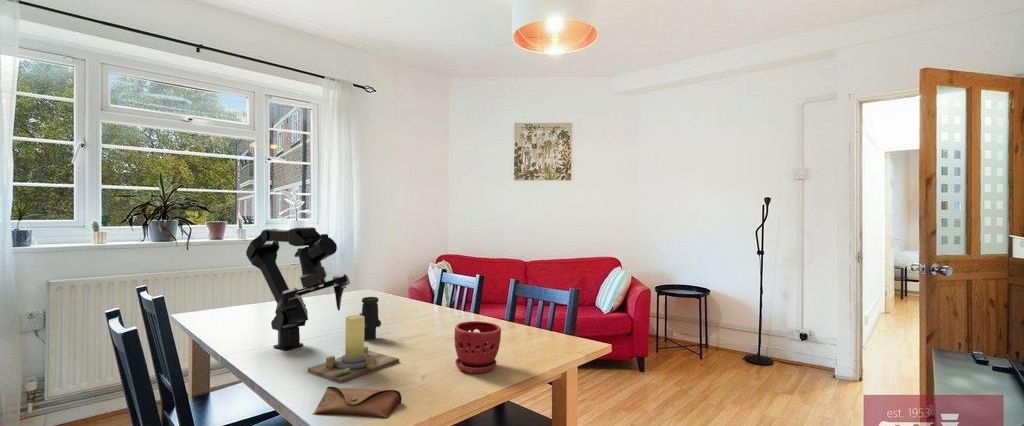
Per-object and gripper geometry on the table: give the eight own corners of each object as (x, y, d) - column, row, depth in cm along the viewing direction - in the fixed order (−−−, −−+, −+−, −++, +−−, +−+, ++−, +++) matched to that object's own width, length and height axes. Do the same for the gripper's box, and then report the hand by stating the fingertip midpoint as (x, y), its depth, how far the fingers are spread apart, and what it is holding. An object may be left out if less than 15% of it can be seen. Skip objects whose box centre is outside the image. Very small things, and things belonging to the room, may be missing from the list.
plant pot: (464, 379, 122) (464, 334, 122) (447, 364, 134) (448, 322, 134) (508, 371, 128) (508, 328, 128) (488, 358, 140) (489, 318, 140)
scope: (359, 295, 164) (386, 296, 163) (359, 334, 164) (385, 335, 163) (347, 299, 156) (375, 301, 155) (347, 340, 156) (375, 342, 155)
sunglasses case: (308, 414, 100) (316, 382, 103) (321, 418, 106) (328, 388, 109) (390, 418, 99) (395, 385, 102) (398, 422, 105) (403, 391, 108)
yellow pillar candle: (336, 360, 130) (336, 317, 129) (356, 354, 135) (357, 313, 135) (352, 365, 126) (352, 321, 126) (372, 358, 132) (373, 316, 131)
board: (307, 372, 126) (307, 359, 126) (367, 353, 143) (367, 342, 143) (341, 383, 118) (342, 370, 118) (400, 362, 135) (400, 350, 135)
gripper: (270, 270, 132) (282, 324, 129) (337, 252, 137) (350, 303, 134) (282, 276, 143) (293, 325, 139) (344, 259, 147) (356, 306, 144)
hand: (323, 315), depth 139 cm, fingers open, 9 cm apart
